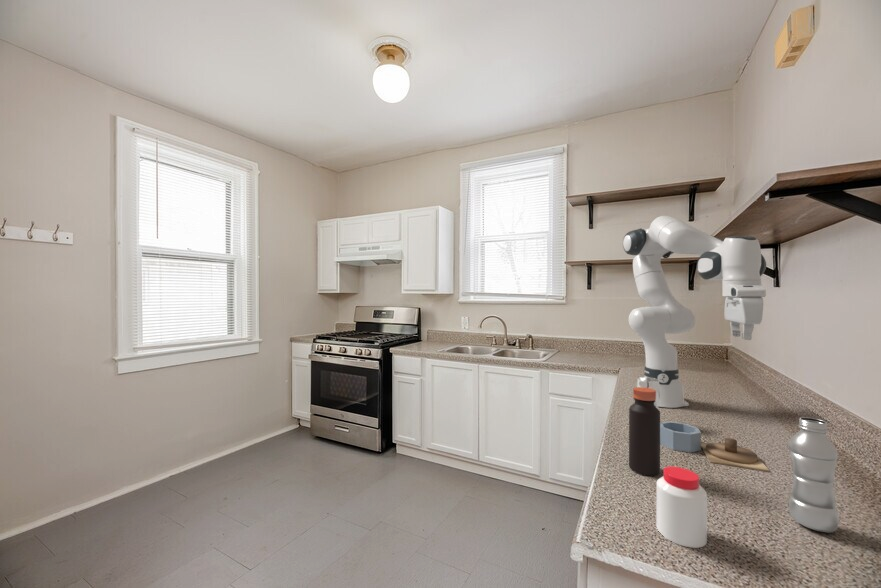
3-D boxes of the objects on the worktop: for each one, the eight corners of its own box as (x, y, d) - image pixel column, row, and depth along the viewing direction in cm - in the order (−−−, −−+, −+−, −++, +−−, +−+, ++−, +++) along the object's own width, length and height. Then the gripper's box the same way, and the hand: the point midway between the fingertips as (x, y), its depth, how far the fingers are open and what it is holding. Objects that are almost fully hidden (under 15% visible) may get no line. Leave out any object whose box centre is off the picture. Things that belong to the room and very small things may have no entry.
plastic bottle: (836, 543, 65) (836, 429, 65) (784, 523, 70) (784, 418, 70) (842, 529, 68) (842, 422, 68) (792, 511, 74) (792, 412, 74)
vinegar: (655, 479, 87) (656, 394, 87) (625, 470, 91) (625, 389, 91) (663, 469, 92) (663, 389, 92) (633, 461, 96) (634, 384, 96)
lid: (701, 443, 107) (701, 429, 107) (749, 450, 102) (749, 436, 102) (711, 458, 97) (711, 443, 97) (764, 467, 92) (764, 451, 92)
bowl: (657, 436, 114) (657, 419, 114) (695, 441, 109) (695, 424, 110) (661, 448, 105) (661, 430, 105) (703, 454, 101) (703, 436, 101)
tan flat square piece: (698, 442, 108) (698, 441, 108) (749, 450, 103) (749, 448, 103) (710, 462, 96) (710, 460, 96) (769, 472, 91) (769, 470, 91)
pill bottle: (714, 551, 62) (715, 487, 62) (663, 543, 64) (663, 480, 64) (696, 524, 70) (696, 466, 70) (651, 517, 72) (651, 461, 72)
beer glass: (653, 419, 128) (653, 377, 128) (663, 427, 121) (664, 381, 121) (632, 419, 129) (633, 376, 129) (641, 426, 122) (641, 381, 122)
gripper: (718, 291, 118) (718, 334, 118) (738, 290, 100) (738, 341, 100) (743, 291, 116) (742, 335, 116) (768, 290, 97) (768, 342, 97)
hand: (741, 338), depth 107 cm, fingers open, 8 cm apart
